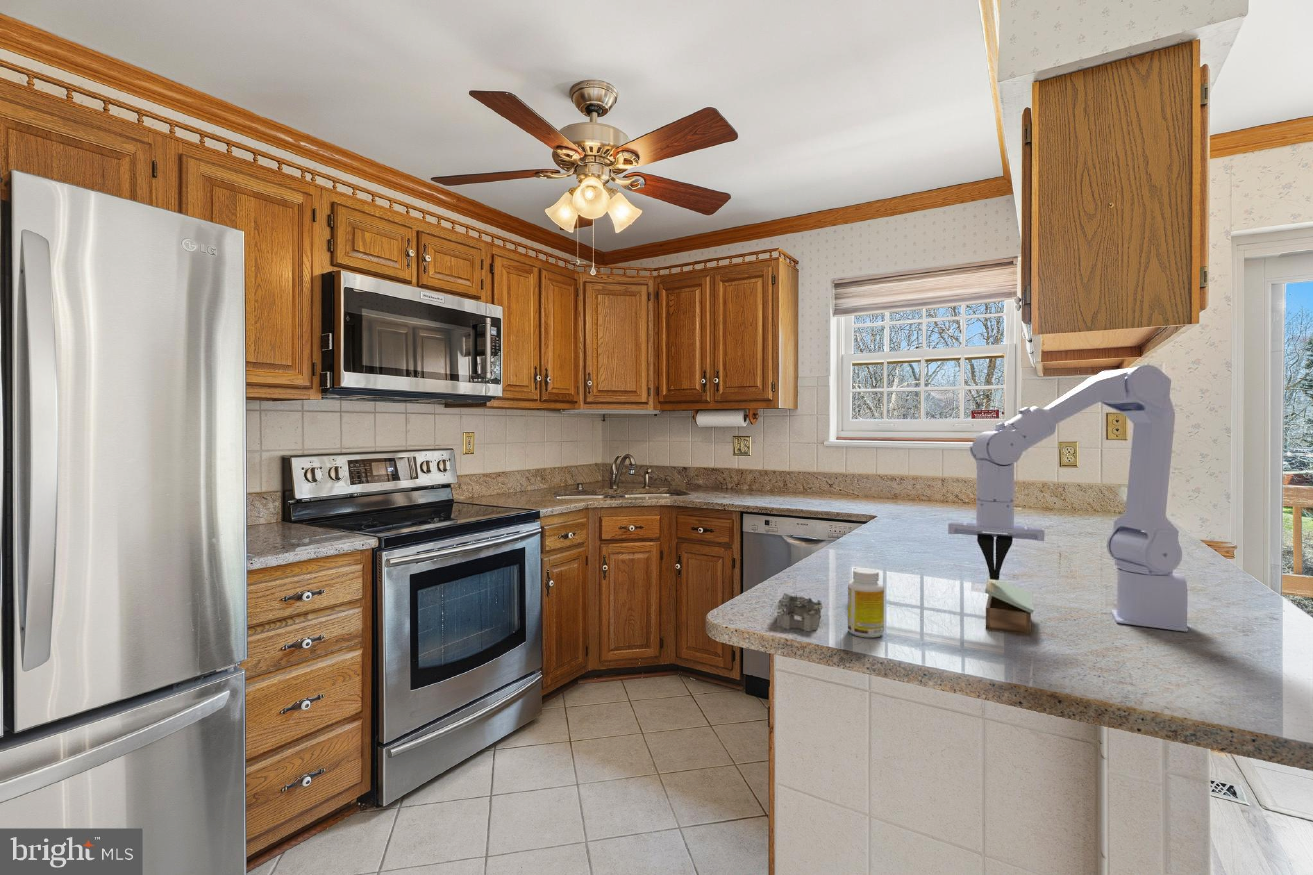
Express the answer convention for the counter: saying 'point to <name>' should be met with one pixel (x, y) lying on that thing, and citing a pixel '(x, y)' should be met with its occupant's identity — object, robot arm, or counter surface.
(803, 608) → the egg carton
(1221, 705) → the counter surface
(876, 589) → the supplement bottle
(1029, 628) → the box
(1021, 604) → the lid
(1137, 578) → the robot arm
